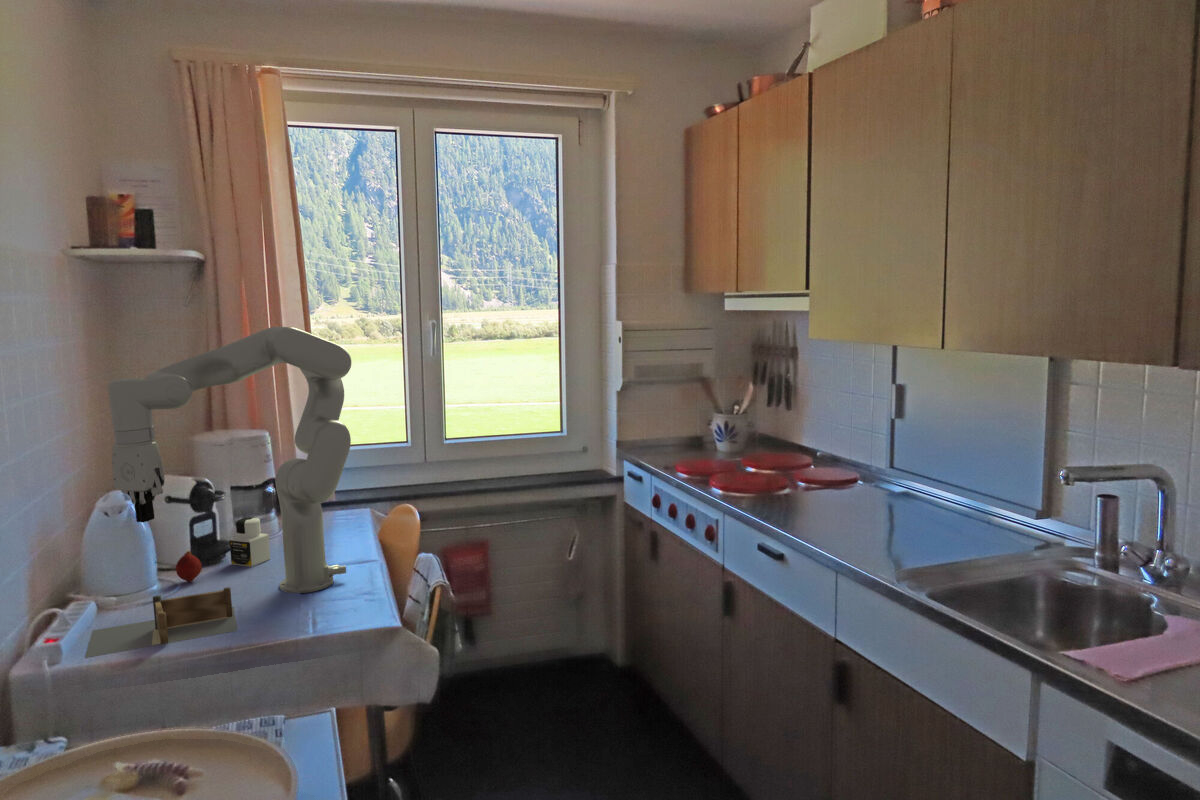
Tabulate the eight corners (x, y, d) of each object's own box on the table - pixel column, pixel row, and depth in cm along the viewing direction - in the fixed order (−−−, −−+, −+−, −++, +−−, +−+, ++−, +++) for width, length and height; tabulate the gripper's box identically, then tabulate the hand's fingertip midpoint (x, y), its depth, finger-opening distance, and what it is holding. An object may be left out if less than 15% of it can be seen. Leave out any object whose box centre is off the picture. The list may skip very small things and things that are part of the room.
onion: (192, 586, 210) (189, 555, 209) (171, 585, 212) (169, 554, 211) (207, 578, 216) (204, 548, 215) (187, 577, 217) (184, 547, 216)
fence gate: (156, 627, 181) (153, 600, 180) (163, 626, 182) (161, 598, 181) (161, 644, 172) (158, 615, 171) (168, 642, 173) (166, 613, 172)
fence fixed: (232, 614, 190) (230, 584, 189) (232, 616, 188) (230, 586, 187) (155, 627, 183) (152, 596, 182) (155, 630, 181) (152, 598, 181)
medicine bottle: (230, 564, 227) (227, 521, 226) (250, 556, 234) (247, 514, 232) (251, 567, 225) (247, 523, 223) (271, 559, 231) (267, 516, 230)
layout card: (233, 608, 194) (233, 606, 194) (237, 632, 180) (237, 630, 180) (92, 632, 182) (92, 630, 182) (84, 659, 168) (84, 657, 168)
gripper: (93, 439, 178) (104, 523, 181) (146, 441, 173) (157, 527, 176) (124, 432, 185) (134, 513, 188) (176, 434, 180) (186, 517, 183)
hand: (145, 520), depth 182 cm, fingers closed
